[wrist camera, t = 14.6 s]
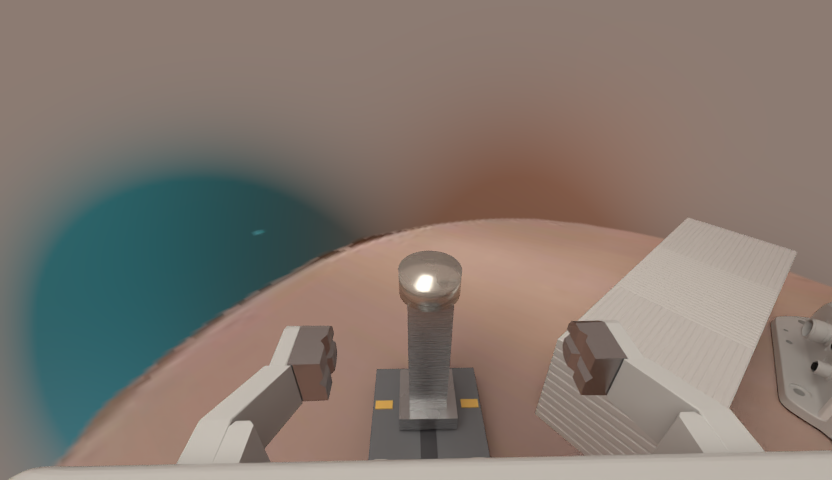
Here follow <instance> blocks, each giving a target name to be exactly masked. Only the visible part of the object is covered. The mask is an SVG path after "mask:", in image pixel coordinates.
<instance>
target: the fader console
mask: <svg viewBox="0 0 832 480" xmlns="http://www.w3.org/2000/svg"><path fill="white" fill-rule="evenodd" d="M449 369H452V374H453V382H454V391H455V399H456V407H457V415H458V422H457V429H425V430H400V429H399V400H400V369H377V373H376V384H375V395H374V406H373V416H372V427H371V438H370V448H369V459H368V460H406V459H452V458H490V455H489V449H488V444H487V439H486V433H485V428H484V423H483V417H482V412H481V406H480V401H479V396H478V390H477V385H476V380H475V374H474V369H473V368H449Z"/></svg>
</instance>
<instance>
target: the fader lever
mask: <svg viewBox="0 0 832 480" xmlns="http://www.w3.org/2000/svg"><path fill="white" fill-rule="evenodd" d="M398 271H399V294H400V297H401V299H402V300H403V302H404V303H405V304H406V305H407V309H408V356H409V369H400V400H399V429H400V430H425V429H457V422H458V415H457V407H456V399H455V391H454V382H453V374H452V369H449V367H450V353H451V340H452V326H453V313H454V304H455V303H456V302H457V301H458V299H459V296H460V288H461V276H462V267H461V265H460V263H459V262H458V261H457V260H456V259H455V258H454V257H452V256H450V255H448V254H445V253H442V252H437V251H421V252H416V253H413V254H411V255H409V256H407V257H405V258H404V259H403V260H402V261H401V263H400V265H399V268H398Z"/></svg>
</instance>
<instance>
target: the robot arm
mask: <svg viewBox="0 0 832 480" xmlns="http://www.w3.org/2000/svg"><path fill="white" fill-rule="evenodd" d="M567 330H568V332H569V335H568V336H567V337H565V338H564V341H563V345H562V346H563V356H564V360H565V362H566V364H567V366H568V367H569V368H570V369H572V370H573V371H574V374H573V380H574V382H575V384H576V386H577V388H578V390H579V393H580V395H607V396H606V397H607V398H608V399H609V400H611V401H612V402H613V403H614V404H615V405H616V406H617V407H618V408H619V409H620V410H621V411H622V412H623V413H625V414H626V415H627V416H628V417H629V418H630V419H631V420H632V421H633V422H634V423H635V424H636V425H638V426H639V427H640V428H641V429H642V430H643V431H644V432H645V433H646V434H647V435H648V436H649V437H650V438H652V439H653V440H654V441H655V442H656V443H657V444H658V446H657V447H656V449H655V450H654V452H653V453H652V454H637V455H590V456H544V457H497V458H452V459H406V460H359V461H311V462H270V460H269V458H268V455H267V453H266V451H265V447H266V446H267V445H268V444H269V443H270V441H271V440H272V439H273V438H274V437H275V435H276V434H277V433H278V432H279V431H280V429H281V428H282V427H283V426H284V425H285V423H286V422H287V421H288V420H289V419H290V417H291V416H292V415H293V414H294V413H295V411H296V410H297V409H298V408H299V407H300V405H301V404H302V401H322V400H328V399H329V395H330V390H331V386H332V379H331V374H332V373H333V372H334V371H335V367H336V360H337V347H336V343H335V342H334V341H333V340H332V339H333V335H334V332H333V328H332V326H287V327H286V328H285V329H284V331H283V333H282V336H281V338H280V341H279V343H278V345H277V348H276V350H275V353H274V355H273V358H272V360H271V362H270V365H269V366H264V367H263V368H262V369H260V370H259V371H258V372H257V373H256V374H254V375H253V376H252V377H251V378H250V379H248V380H247V381H246V382H245V383H244V384H242V385H241V386H240V387H239V388H238V389H236V390H235V391H234V392H233V393H232V394H230V395H229V396H228V397H227V398H226V399H224V400H223V401H222V402H221V403H220V404H218V405H217V406H216V407H215V408H214V409H212V410H211V411H210V412H209V413H208V414H206V415H205V416H204V417H203V418H202V419H200V420H199V422H198V424H197V426H196V428H195V430H194V432H193V434H192V435H191V437H190V439H189V441H188V443H187V445H186V447H185V449H184V451H183V452H182V454H181V456H180V458H179V460H178V462H177V464H166V465H118V466H60V467H39V468H33V469H29V470H26V471H24V472H21V473H19V474H17V475H16V476H14V477H12V478H10V479H8V480H832V450H823V451H777V452H765V451H764V450H763V449H762V447H761V446H760V445H759V444H758V443H757V441H756V440H755V439H754V438H753V437H752V435H751V434H750V433H749V432H748V430H747V429H746V428H745V427H744V426H743V424H742V423H741V422H740V421H739V419H738V418H737V417H736V416H735V415H734V413H733V412H732V411H731V410H730V409H728V408H727V407H725V406H724V405H722V404H720V403H719V402H717V401H716V400H714V399H713V398H711V397H709V396H708V395H706V394H705V393H703V392H702V391H700V390H698V389H697V388H695V387H694V386H692V385H691V384H689V383H687V382H686V381H684V380H683V379H681V378H680V377H678V376H676V375H675V374H673V373H672V372H670V371H669V370H667V369H665V368H664V367H662V366H661V365H659V364H657V363H656V362H654V361H653V360H651V359H645V358H644V356H643V355H642V353H641V352H640V350H639V349H638V348H637V346H636V345H635V343H634V342H633V341H632V339H631V338H630V336H629V335H628V333H627V332H626V331H625V329H624V328H623V326H622V325H621V323H620V322H618V321H617V320H601V321H599V320H597V321H571V322H570V323H569V325H568V328H567ZM771 330H772V339H773V348H774V357H775V366H776V375H777V384H778V394H779V399H780V401H781V403H782V404H783V405H784V406H785V407H786V408H787V409H789V410H790V411H791V412H793V413H794V414H796V415H797V416H799V417H800V418H802V419H803V420H805V421H806V422H808V423H810V424H811V425H813V426H814V427H816V428H818V429H819V430H821V431H822V432H823V433H825V434H826V435H827V436H828V437H829V438H831V439H832V302H830V303H828V304H825V305H824V306H822V307H821V308H820V309H818V310H817V311H816V312H815V313H814V314H813V315H812V316H811V318H806V317H797V316H780V317H776V318H775V319H774V320H773V321H772V322H771Z"/></svg>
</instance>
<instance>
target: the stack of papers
mask: <svg viewBox="0 0 832 480" xmlns="http://www.w3.org/2000/svg"><path fill="white" fill-rule="evenodd" d="M796 254H797V251H794V250H790V249H787V248H784V247H781V246H777V245H774V244H771V243H768V242H765V241H761V240H758V239H755V238H752V237H749V236H745V235H742V234H739V233H736V232H732V231H729V230H726V229H723V228H720V227H717V226H713V225H710V224H707V223H704V222H700V221H697V220H694V219H691V218H687V219H686V220H685V221H684V222H683V223H682V224H680V225H679V226H678V227H677V228H676V229H675V230H674V231H673V232H672V233H671V234H670V235H669V236H668V237H667V238H665V239H664V240H663V241H662V242H661V243H660V244H659V245H658V246H657V247H656V248H655V249H654V250H653V251H652V252H650V253H649V254H648V255H647V256H646V257H645V258H644V259H643V260H642V261H641V262H640V263H639V264H638V265H637V266H635V267H634V268H633V269H632V270H631V271H630V272H629V273H628V274H627V275H626V276H625V277H624V278H623V279H622V280H621V281H619V282H618V283H617V284H616V285H615V286H614V287H613V288H612V289H611V290H610V291H609V292H608V293H607V294H606V295H604V296H603V297H602V298H601V299H600V300H599V301H598V302H597V303H596V304H595V305H594V306H593V307H592V308H591V309H589V310H588V311H587V312H586V313H585V314H584V315H583V316H582V317H581V318H580V319H579V320H578V321H597V320H599V321H601V320H617V321H618V322H620V323H621V325H622V326H623V328H624V329H625V331H626V332H627V333H628V335H629V336H630V338H631V339H632V341H633V342H634V343H635V345H636V346H637V348H638V349H639V350H640V352H641V353H642V355H643V356H644V358H645V359H651V360H653V361H654V362H656V363H657V364H659V365H661V366H662V367H664V368H665V369H667V370H669V371H670V372H672V373H673V374H675V375H676V376H678V377H680V378H681V379H683V380H684V381H686V382H687V383H689V384H691V385H692V386H694V387H695V388H697V389H698V390H700V391H702V392H703V393H705V394H706V395H708V396H709V397H711V398H713V399H714V400H716V401H717V402H719V403H720V404H722V405H724V406H725V407H727V408H728V409H729V408H730V405H731V403H732V401H733V398H734V396H735V394H736V392H737V389H738V387H739V385H740V382H741V380H742V378H743V375H744V373H745V371H746V369H747V366H748V364H749V362H750V359H751V357H752V355H753V353H754V350H755V348H756V346H757V343H758V341H759V339H760V336H761V334H762V332H763V330H764V327H765V325H766V323H767V320H768V318H769V316H770V314H771V311H772V309H773V307H774V304H775V302H776V300H777V297H778V295H779V293H780V291H781V288H782V286H783V284H784V281H785V279H786V277H787V274H788V272H789V270H790V268H791V265H792V263H793V261H794V258H795V256H796ZM568 335H569V332H568V330H567V331H566V332H565V333H564V334H563V335H562V336H561V337H560V338H558V340H557V343H556V348H555V350H554V353H553V354H554V355H553V356H552V360H551V363H550V366H549V370H548V373H547V377H546V379H545V384H544V386H543V389H542V390H543V391H542V392H541V397H540V399H539V403H538V405H537V409H536V412H535V414H536V415H537V416H538V417H539V418H541V419H542V420H543V421H544V422H545V423H547V424H548V425H549V426H550V427H551V428H553V429H554V430H555V431H556V432H557V433H559V434H560V435H561V436H562V437H563V438H565V439H566V440H567V441H568V442H569V443H571V444H572V445H573V446H574V447H575V448H577V449H578V450H579V451H580V452H581V453H583V454H584V455H585V456H590V455H637V454H652V453H653V452H654V450H655V449H656V447H657V446H658V444H657V443H656V442H655V441H654V440H653V439H652V438H650V437H649V436H648V435H647V434H646V433H645V432H644V431H643V430H642V429H641V428H640V427H639V426H638V425H636V424H635V423H634V422H633V421H632V420H631V419H630V418H629V417H628V416H627V415H626V414H625V413H623V412H622V411H621V410H620V409H619V408H618V407H617V406H616V405H615V404H614V403H613V402H612V401H611V400H609V399H608V398H607V397H606V396H607V395H580V393H579V390H578V388H577V386H576V384H575V382H574V380H573V374H574V371H573V370H572V369H570V368H569V367H568V366H567V364H566V362H565V360H564V356H563V346H562V345H563V341H564V338H565V337H567V336H568Z"/></svg>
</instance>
